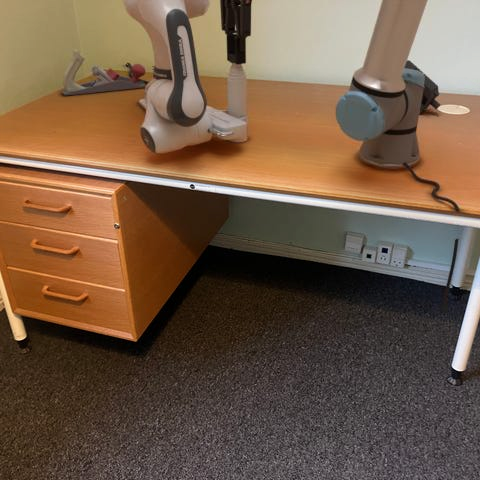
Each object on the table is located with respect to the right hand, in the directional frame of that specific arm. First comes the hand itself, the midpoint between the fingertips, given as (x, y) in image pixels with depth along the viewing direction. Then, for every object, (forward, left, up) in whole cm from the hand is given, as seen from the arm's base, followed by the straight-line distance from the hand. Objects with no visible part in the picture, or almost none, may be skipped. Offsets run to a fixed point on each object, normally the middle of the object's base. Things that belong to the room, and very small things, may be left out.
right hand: (236, 61), depth 142 cm
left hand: (0, -1, -15) cm, 15 cm away
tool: (+21, -56, -22) cm, 63 cm away
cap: (0, 0, +2) cm, 2 cm away
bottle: (0, 0, -22) cm, 22 cm away
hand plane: (+55, +47, -22) cm, 75 cm away
